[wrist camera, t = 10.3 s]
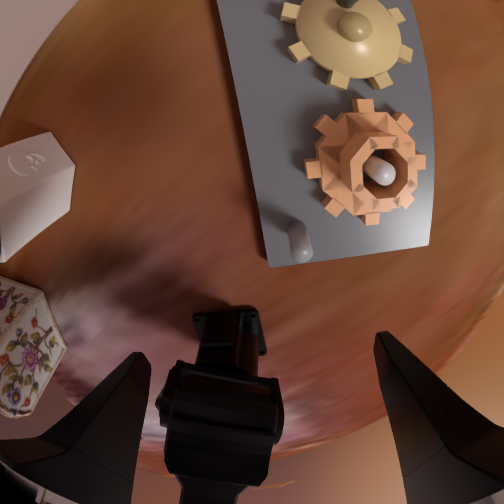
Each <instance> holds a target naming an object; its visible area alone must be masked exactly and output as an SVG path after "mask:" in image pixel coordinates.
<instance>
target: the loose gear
mask: <svg viewBox="0 0 504 504" xmlns="http://www.w3.org/2000/svg"><path fill="white" fill-rule="evenodd" d="M352 107H353V112H346V113H340V114H339V115H338V117H337V118H336V119H335V120H334V121H333V120H332V119H331V118H330V117H329V116H327V115H326V114H322V115H321V116H320V117H319V119H318V120H317V121H316V122H315V123H314V125H313V127H314V128H315V129H316V130H318V131H319V132H320V133H321V134H323V135H322V136H321V138H320V139H319V140H318V141H317V143H316V144H315V150H316V158H308V159H303V160H304V168H305V175H306V177H307V178H308V179H312V178H319V185H320V187H321V189H322V190H323V191H324V192H325V193H327V194H328V195H327V196H326V197H325V199H324V200H323V201H322V202H321V203H322V205H323V207H324V209H326V210H327V211H328V212H329V213H331V214H332V215H333V216H335V217H337V216H338V215H339V214H340V213H341V212H342V210H343V209H344V208H345V209H346V210H347V211H349V212H350V213H351V214H352V215H353V216H355V215H361V220H362V222H363V223H364V224H365V226H369V225H377V224H379V221H380V212H389V211H391V210H392V209H393V208H399V207H400V206H402V207H403V208H404V209H405V210H406V209H407V208H408V206H409V205H410V204H411V203H412V202H413V201H414V199H415V198H414V197H413V196H412V195H411V193H412V192H413V191H414V190H415V189H416V187H417V170H426V155H425V154H423V153H421V152H418V151H415V142H414V140H413V139H412V138H411V137H410V136H409V135H408V134H407V132H408V131H409V130H410V128H411V127H412V126H413V125H414V124H413V122H412V121H411V120H410V119H409V118H408V117H407V116H406V115H405V114H404V113H403V112H395V113H394V115H393V116H392V117H391V116H390V115H389V114H388V113H387V112H375V111H374V103H373V99H352ZM375 149H382V150H383V151H384V161H386V162H388V163H389V164H391V165H392V166H393V167H394V169H395V172H396V175H395V179H394V181H393V182H392V183H391V184H389V185H386V186H384V185H380V184H379V183H378V182H376V181H375V180H374V181H365V182H363V172H362V165H363V163H364V162H365V161H366V160H367V159H368V157H369V156H370V155H371V154H372V153H373V151H374V150H375Z"/></svg>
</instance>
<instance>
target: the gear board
mask: <svg viewBox="0 0 504 504" xmlns="http://www.w3.org/2000/svg"><path fill="white" fill-rule="evenodd" d="M217 4H218V9H219V13H220V18H221V22H222V27H223V32H224V36H225V41H226V46H227V50H228V55H229V60H230V65H231V70H232V75H233V79H234V84H235V89H236V94H237V99H238V104H239V109H240V114H241V119H242V124H243V129H244V135H245V140H246V145H247V150H248V155H249V161H250V166H251V171H252V176H253V182H254V187H255V192H256V198H257V203H258V209H259V214H260V220H261V225H262V231H263V236H264V242H265V248H266V253H267V259H268V265H269V268H271V267H279V266H287V265H295V264H302V263H310V262H317V261H324V260H332V259H339V258H346V257H353V256H360V255H367V254H374V253H381V252H387V251H394V250H401V249H407V248H414V247H420V246H427V245H428V243H429V236H430V227H431V218H432V207H433V192H434V126H433V112H432V101H431V92H430V85H429V78H428V71H427V65H426V60H425V55H424V50H423V45H422V41H421V37H420V32H419V28H418V25H417V21H416V17H415V14H414V11H413V7H412V4H411V1H410V0H217ZM352 99H373V103H374V111H375V112H387V113H388V114H389V115H390V116H391V117H392V116H393V115H394V113H395V112H403V113H404V114H405V115H406V116H407V117H408V118H409V119H410V120H411V121H412V122H413V124H414V125H413V126H412V127H411V128H410V130H409V131H408V132H407V134H408V135H409V136H410V137H411V138H412V139H413V140H414V142H415V151H418V152H421V153H423V154H425V155H426V170H417V187H416V189H415V190H414V191H413V192H412V193H411V195H412V196H413V197H414V198H415V199H414V201H413V202H412V203H411V204H410V205H409V206H408V208H407V209H406V210H405V209H404V208H403V207H402V206H400V207H399V208H393V209H392V210H391V211H389V212H380V221H379V224H377V225H369V226H365V224H364V223H363V222H362V220H361V215H355V216H353V215H352V214H351V213H350V212H349V211H347V210H346V209H345V208H344V209H343V210H342V212H341V213H340V214H339V215H338V216H337V217H335V216H333V215H332V214H331V213H329V212H328V211H327V210H326V209H324V207H323V205H322V203H321V202H322V201H323V200H324V199H325V197H326V196H327V195H328V194H327V193H325V192H324V191H323V190H322V189H321V187H320V185H319V178H312V179H308V178H307V177H306V175H305V168H304V160H303V159H308V158H316V150H315V144H316V143H317V141H318V140H319V139H320V138H321V136H322V135H323V134H321V133H320V132H319V131H318V130H316V129H315V128H314V127H313V125H314V123H315V122H316V121H317V120H318V119H319V117H320V116H321V115H322V114H326V115H327V116H329V117H330V118H331V119H332V120H333V121H334V120H335V119H336V118H337V117H338V115H339V114H340V113H346V112H353V107H352ZM362 172H363V182H365V181H374V180H375V181H376V182H378V183H379V184H380V185H384V186H386V185H389V184H391V183H392V182H393V181H394V179H395V175H396V172H395V169H394V167H393V166H392V165H391V164H389V163H388V162H386V161H384V151H383V150H382V149H375V150H374V151H373V153H372V154H371V155H370V156H369V157H368V159H367V160H366V161H365V162H364V163H363V165H362Z"/></svg>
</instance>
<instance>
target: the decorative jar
mask: <svg viewBox="0 0 504 504" xmlns="http://www.w3.org/2000/svg"><path fill="white" fill-rule="evenodd" d="M66 350H67V346H66V344H65V342H64V340H63V338H62V336H61V333H60V331H59V329H58V327H57V324H56V322H55V320H54V317H53V315H52V312H51V310H50V307H49V305H48V302H47V300H46V298H45V294H44V292H43V291H42V290H40V289H37V288H34V287H31V286H28V285H25V284H22V283H19V282H17V281H14V280H11V279H8V278H5V277H3V276H1V275H0V413H1V414H2V415H4V416H6V417H9V418H19V417H21V416H26V415H30V414H32V412H33V410H34V408H35V406H36V404H37V402H38V400H39V398H40V396H41V394H42V392H43V391H44V389H45V387H46V385H47V384H48V382H49V380H50V378H51V377H52V375H53V373H54V371H55V369H56V367H57V366H58V364H59V362H60V360H61V359H62V357H63V355H64V353H65V351H66Z"/></svg>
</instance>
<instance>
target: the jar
mask: <svg viewBox="0 0 504 504" xmlns="http://www.w3.org/2000/svg"><path fill="white" fill-rule="evenodd" d="M74 171H75V164H74V163H73V162H72V160H71V159H70V158H69V156H68V155H67V154H66V152H65V151H64V150H63V148H62V147H61V146H60V144H59V143H58V141H57V140H56V139H55V137H54V136H53V134H52V133H51V132H46V133H42V134H39V135H36V136H32V137H29V138H26V139H23V140H20V141H17V142H14V143H11V144H8V145H5V146H3V147H0V263H4V262H6V261H7V260H8V259H9V258H10V257H12V256H13V255H14V254H15V253H16V252H17V251H18V250H20V249H21V248H22V247H23V246H24V245H26V244H27V243H28V242H29V241H30V240H32V239H33V238H34V237H35V236H37V235H38V234H39V233H40V232H42V231H43V230H44V229H46V228H47V227H48V226H49V225H51V224H52V223H53V222H55V221H56V220H57V219H59V218H60V217H62V216H63V215H64V214H66V213H67V212H69V210H70V203H71V193H72V185H73V178H74Z"/></svg>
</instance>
